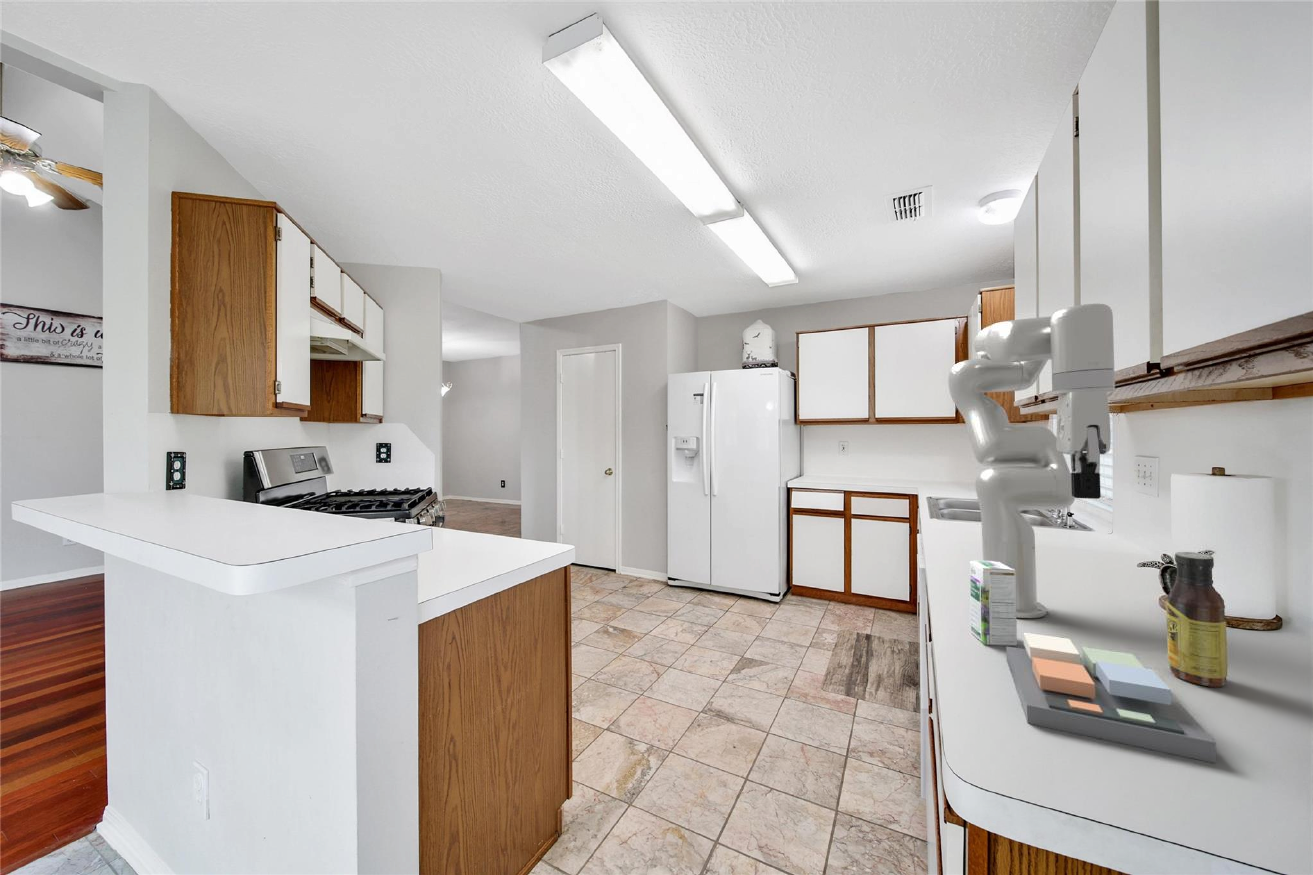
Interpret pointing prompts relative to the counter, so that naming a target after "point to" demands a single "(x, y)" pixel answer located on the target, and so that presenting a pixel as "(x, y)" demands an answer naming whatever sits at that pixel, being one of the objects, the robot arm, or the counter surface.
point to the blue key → (1133, 682)
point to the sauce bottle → (1196, 623)
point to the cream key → (1051, 648)
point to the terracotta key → (1063, 677)
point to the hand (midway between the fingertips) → (1085, 497)
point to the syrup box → (993, 603)
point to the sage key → (1107, 658)
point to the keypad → (1110, 715)
